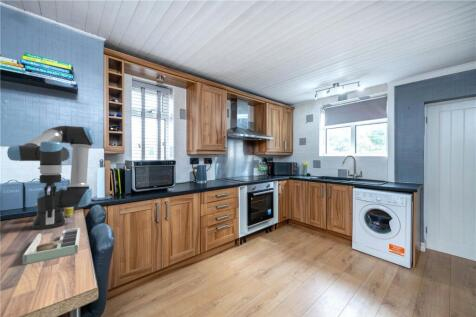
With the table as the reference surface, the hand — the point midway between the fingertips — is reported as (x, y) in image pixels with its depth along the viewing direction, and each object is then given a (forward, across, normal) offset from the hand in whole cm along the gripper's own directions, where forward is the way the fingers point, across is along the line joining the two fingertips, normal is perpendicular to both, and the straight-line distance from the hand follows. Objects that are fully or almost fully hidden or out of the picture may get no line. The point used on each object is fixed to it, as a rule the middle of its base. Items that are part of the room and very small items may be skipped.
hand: (49, 223), depth 94 cm
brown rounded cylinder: (+10, +12, 0) cm, 15 cm away
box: (+10, +3, +3) cm, 11 cm away
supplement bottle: (+13, -62, +3) cm, 63 cm away
